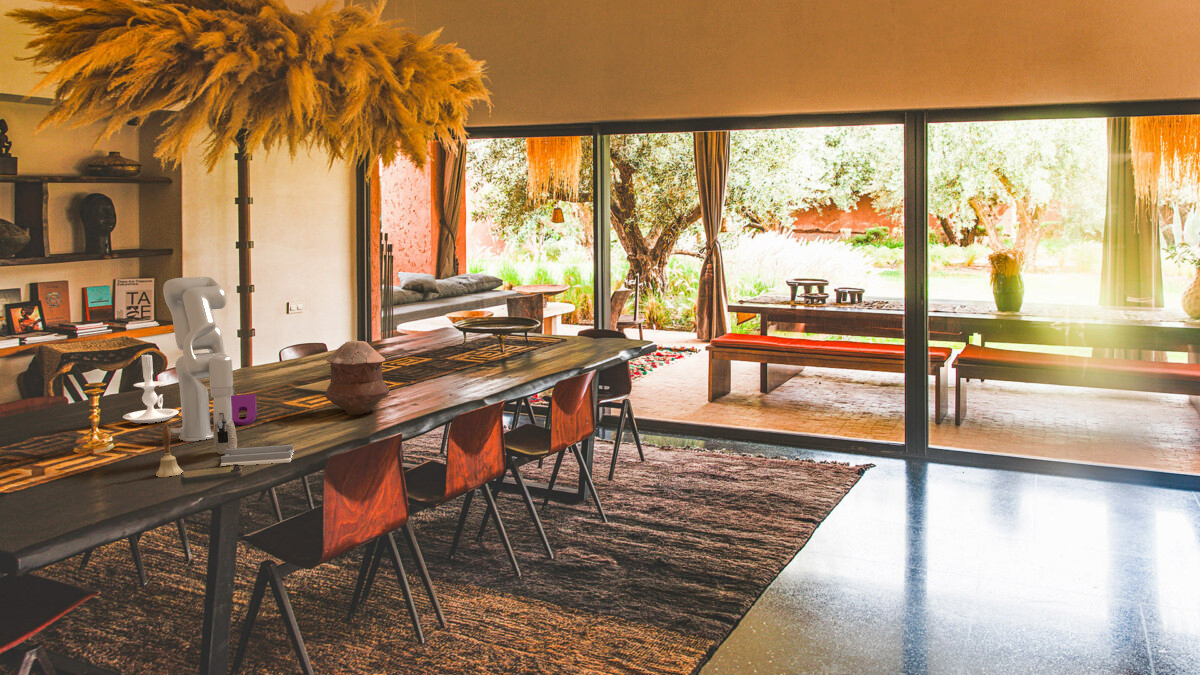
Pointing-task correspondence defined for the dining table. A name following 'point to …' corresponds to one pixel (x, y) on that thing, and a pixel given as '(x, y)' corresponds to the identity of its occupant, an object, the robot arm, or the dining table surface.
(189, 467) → the dining table surface
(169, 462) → the hand bell
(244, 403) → the mounting bracket
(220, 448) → the carving
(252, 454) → the rail plate
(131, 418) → the candlestick
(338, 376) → the pottery vessel
